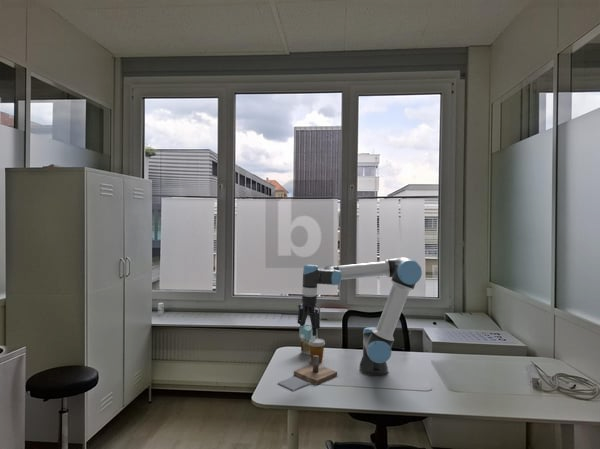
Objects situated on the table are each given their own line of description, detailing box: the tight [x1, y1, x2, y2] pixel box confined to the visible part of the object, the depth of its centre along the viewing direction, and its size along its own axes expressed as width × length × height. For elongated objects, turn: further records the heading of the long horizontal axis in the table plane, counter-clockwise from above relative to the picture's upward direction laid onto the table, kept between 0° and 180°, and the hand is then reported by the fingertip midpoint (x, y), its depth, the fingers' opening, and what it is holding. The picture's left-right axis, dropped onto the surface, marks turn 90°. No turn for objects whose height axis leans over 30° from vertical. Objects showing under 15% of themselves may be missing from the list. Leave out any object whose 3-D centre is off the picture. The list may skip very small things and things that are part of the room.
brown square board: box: [293, 355, 338, 385], centre depth 205 cm, size 16×16×10 cm
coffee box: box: [300, 324, 320, 356], centre depth 238 cm, size 9×6×16 cm
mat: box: [277, 376, 310, 392], centre depth 194 cm, size 11×11×1 cm
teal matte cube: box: [298, 325, 317, 341], centre depth 201 cm, size 6×7×5 cm
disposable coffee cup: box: [309, 338, 326, 364], centre depth 225 cm, size 10×10×12 cm
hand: (307, 339), depth 201 cm, fingers closed on teal matte cube, 6 cm apart
